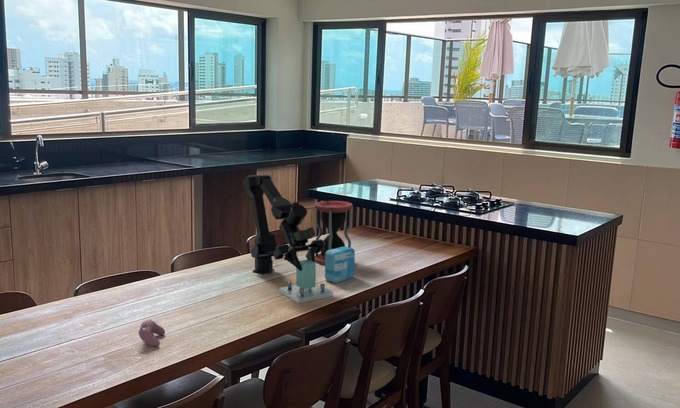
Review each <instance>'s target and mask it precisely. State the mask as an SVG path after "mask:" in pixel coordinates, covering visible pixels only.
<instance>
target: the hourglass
mask: <svg viewBox="0 0 680 408" xmlns="http://www.w3.org/2000/svg"><path fill="white" fill-rule="evenodd" d="M314 209H315V225H316V228H317V229H318V235H317V236H316V238H315V240H319V239H320V238H321V237H322V235H323V229H322V227H321V226H320V224H319V211H320V219H321V221H320V222H321V223H322V224H323V226H324V227H325V228H326V229H327V230H328V233H329V234H328V235H326V237H325V238H324V239H322V240H323V241H324V244H325V246H324V247H323V248H322V250H321V251H320V252H319V253H315V263H316V264H318V265H323V266H325V253H326V252H327V251H328V250H331V249H336V248H340V247H344V246H345V247H346V244H345V242H344V240H343V239H342V238H341V236H339V234H338V231H339V229H341V228H342V226H344V224H345V222H346V220H347V219H346V218H347V211H348V225H347V227H346V228H345V229H344V233H343V234H344V237H345V239H346V240H347V245H348V246H347V247H349V248H352V241H351V238H350V237H349V235H348V233H349V229H350V228H351V227H352V209H353V203H352V202H350V201H344V200H341V201H340V200H324V201H316V202H315V203H314Z"/></svg>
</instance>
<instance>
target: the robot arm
mask: <svg viewBox="0 0 680 408" xmlns="http://www.w3.org/2000/svg"><path fill="white" fill-rule="evenodd" d="M242 184H243V187H244V190H245V193H246V195H248V197H250V200H251V205H252V213H253V218H254V224H255V229H256V230H255V231H256V235H255V237H254V240H253V243H254V245H253V246H252V248H251V250H250V255H251V257H252V258H254V269H253V270H252V273H258V274H262V275H267V274H269V273H271V272H274V271H275V268H274V265H273V262H274V261H273V258H274V259H275V260H282V259H283V260H284V261H287V263H288V262H289V263H290V264H291V265H292V266H294V267H295V268H297V269H299V270H300V271H302V267H301V264H300V262H299V261H300V260H299V257H298V255H297V253H298V252H304V251H305V252H306V254H305V259H306V260H307V259H309V260H311V261H313V262H315V253H318V254H320V253H321V250H322V248H323V247H324V246H325V244H324V241H323V240H324V239H320V238H319V240H316V239H314V240H312V241H311V243H310V244H308V243H309V240H310V239H313V238H312V237H314V236H316V232H315V229H314V227H312V226H311V227H307V228H306V229H304V230H303V229H301V230H300V227H299V226H300V225H301V224H302V222H303V221H304V220H305V217H306V216H307V214H308V209H307V208H306V206H305V207H304V205H301V204H300V203H299V201H293V202H292V203H291V201H290V200H288V199H287V198H285V197H283V196H282V194H281V193H280V191H279V190H278V189H277V187H276V185H275V184H274V182H273V180H272V176H271V175H269V174H253V175H246V176H245V178H243V181H242ZM264 195H265V197H266V198H267V200H268V201H269V203H270V205H271V208H270V211H271V214H272V216H273V218H274V219H275V220H282V221H281V222H280V224H279V226H278V227H279V230H282V232H283V233H284V236H285V240H284V242H285V243H286V244H277V239H276V236H275V234H274V233H271V232H270V228H269V222H268V217H267V212H266V205H265V200H264ZM287 243H288V244H287ZM315 263H316V262H315Z"/></svg>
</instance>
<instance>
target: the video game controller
mask: <svg viewBox="0 0 680 408" xmlns="http://www.w3.org/2000/svg"><path fill="white" fill-rule="evenodd" d="M139 328H140V329H139V330H138V335H139V338H140V339H141V340H142V341H143V342H145V343H146V344H147V345H149V346H151V347H154V348H158V347H159V346H160V345H161V342H160V340H159V339H158V338H156V337H155V335H159V336H164V335H165V334H166V330H165V329H164V327H162V326H160V325H159V324H158V323H156V322H155V321H154V320H152V319H149V320H145V321H142V322H141V324H140V327H139Z"/></svg>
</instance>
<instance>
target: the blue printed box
mask: <svg viewBox="0 0 680 408" xmlns="http://www.w3.org/2000/svg"><path fill="white" fill-rule="evenodd" d="M355 253H356V252H355V249H354V248H353V247H351V248H349V247H348V246H346V245H345V246H344V247H340V248H336V249H331V250H328V251H327V252H326V253H325V265H324V278H325V281H328V282H331V283H333V284H336V283H339V282H342V281H347V280H349V279H352V278H354V276H355V261H356V260H355V256H356V255H355Z"/></svg>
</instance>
